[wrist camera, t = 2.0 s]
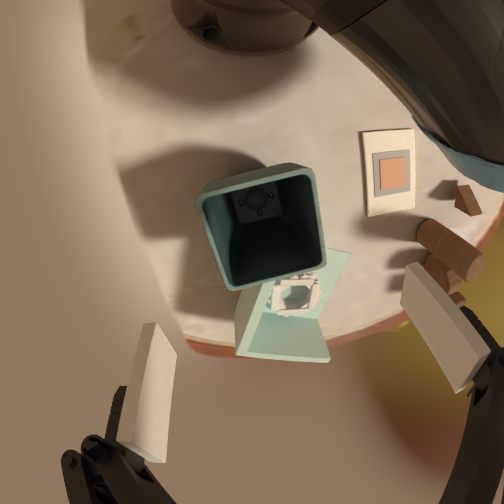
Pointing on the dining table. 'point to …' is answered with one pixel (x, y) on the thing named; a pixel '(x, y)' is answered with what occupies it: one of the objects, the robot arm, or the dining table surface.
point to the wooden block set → (452, 250)
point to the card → (389, 170)
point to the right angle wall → (287, 314)
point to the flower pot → (263, 225)
